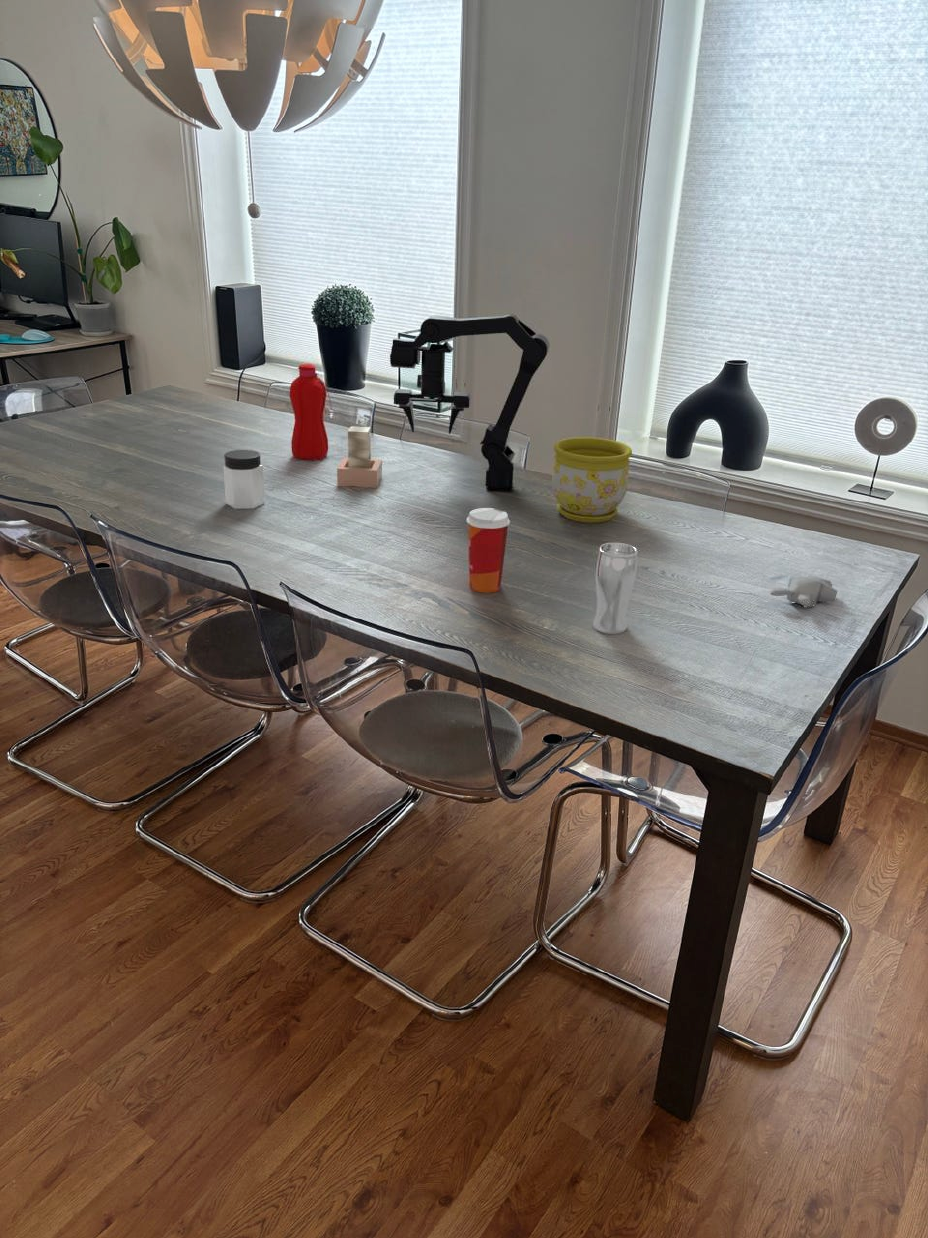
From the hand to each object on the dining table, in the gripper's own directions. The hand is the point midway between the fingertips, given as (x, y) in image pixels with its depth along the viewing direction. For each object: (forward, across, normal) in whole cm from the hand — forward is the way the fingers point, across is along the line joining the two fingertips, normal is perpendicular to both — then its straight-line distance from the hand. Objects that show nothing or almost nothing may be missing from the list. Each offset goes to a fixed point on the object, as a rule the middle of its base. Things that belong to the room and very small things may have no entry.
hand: (431, 432), depth 240 cm
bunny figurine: (+13, -78, +65) cm, 103 cm away
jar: (+13, +42, +24) cm, 50 cm away
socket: (+13, +18, +2) cm, 22 cm away
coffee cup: (+13, -16, +66) cm, 69 cm away
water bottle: (+13, +34, -18) cm, 41 cm away
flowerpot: (+13, -39, +19) cm, 45 cm away
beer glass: (+13, -39, +81) cm, 91 cm away
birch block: (+12, +18, +2) cm, 22 cm away
